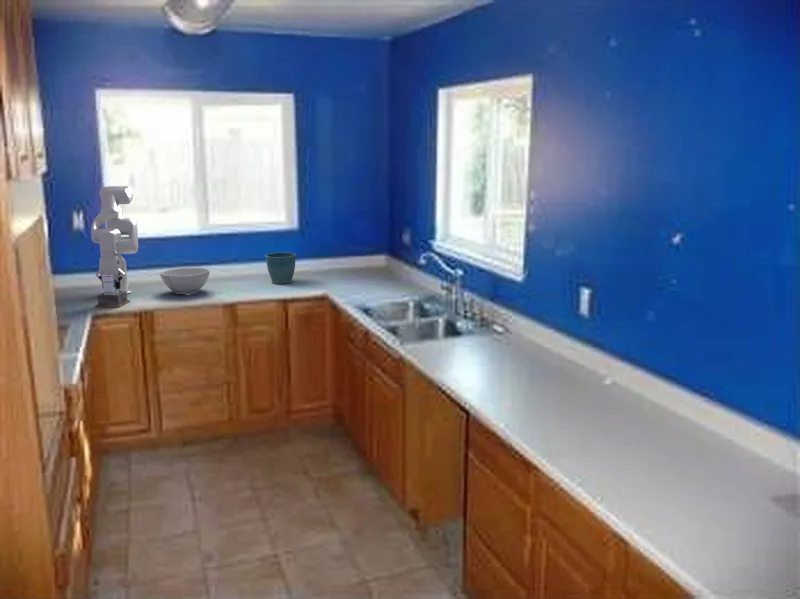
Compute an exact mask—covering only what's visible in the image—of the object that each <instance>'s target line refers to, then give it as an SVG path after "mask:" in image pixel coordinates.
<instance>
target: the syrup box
mask: <svg viewBox="0 0 800 599" xmlns="http://www.w3.org/2000/svg"><path fill="white" fill-rule="evenodd" d="M102 278H103V287H104V289H103V293H104V295H117V294H119V293H120V289H116V279H115V277H114V276H113V275H110V274H106V275H102ZM103 287H102V288H103Z"/></svg>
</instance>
